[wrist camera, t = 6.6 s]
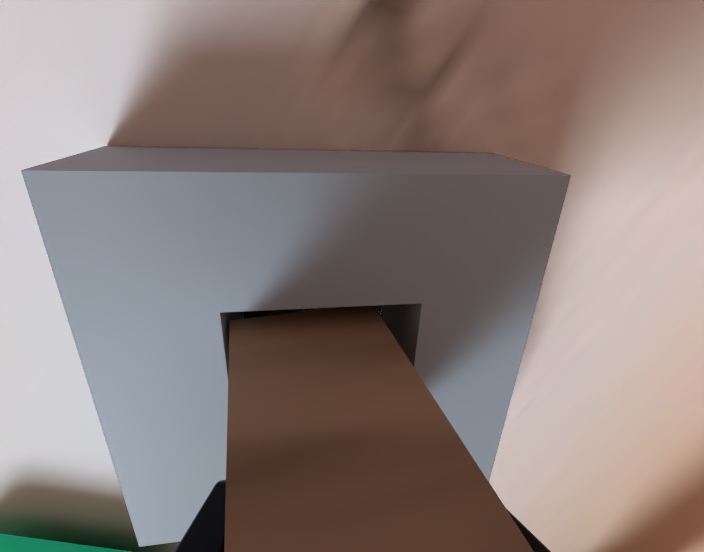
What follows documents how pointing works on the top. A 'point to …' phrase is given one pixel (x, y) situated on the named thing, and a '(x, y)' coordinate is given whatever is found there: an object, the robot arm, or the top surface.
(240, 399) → the square peg
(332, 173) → the socket block
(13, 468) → the top surface
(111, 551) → the green angle bracket
